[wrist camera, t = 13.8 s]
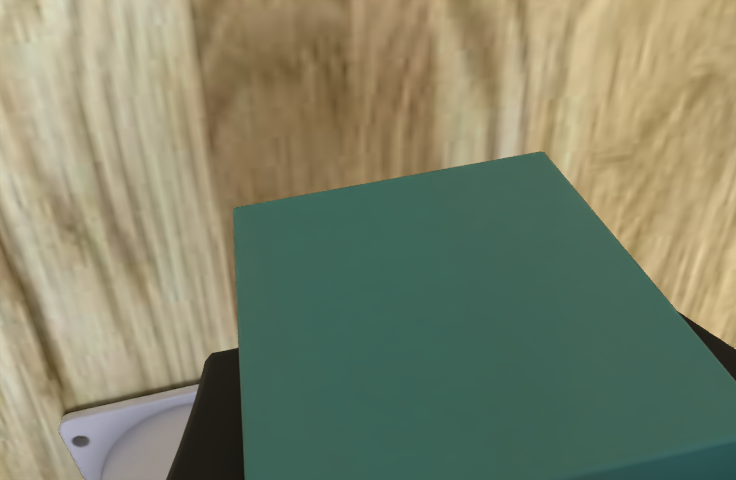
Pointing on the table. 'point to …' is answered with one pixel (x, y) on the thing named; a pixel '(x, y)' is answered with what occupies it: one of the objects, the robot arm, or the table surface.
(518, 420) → the block
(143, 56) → the table surface
